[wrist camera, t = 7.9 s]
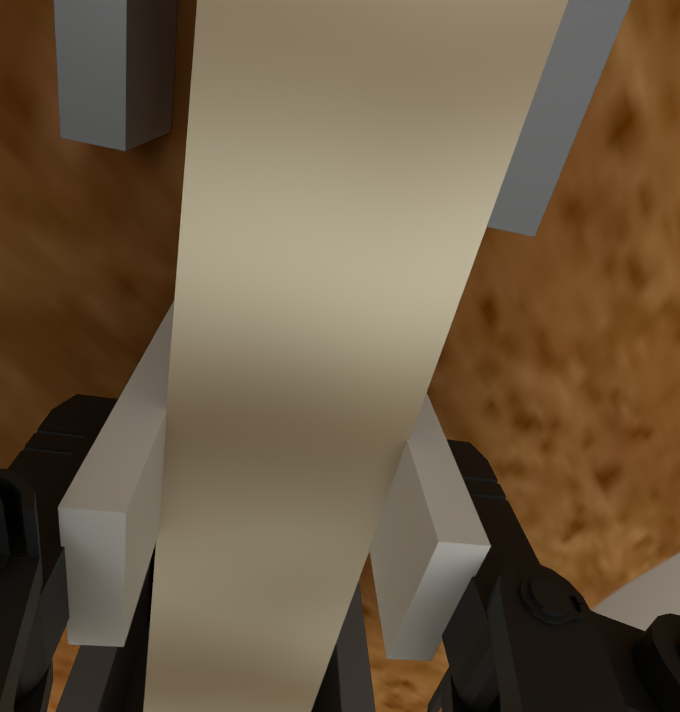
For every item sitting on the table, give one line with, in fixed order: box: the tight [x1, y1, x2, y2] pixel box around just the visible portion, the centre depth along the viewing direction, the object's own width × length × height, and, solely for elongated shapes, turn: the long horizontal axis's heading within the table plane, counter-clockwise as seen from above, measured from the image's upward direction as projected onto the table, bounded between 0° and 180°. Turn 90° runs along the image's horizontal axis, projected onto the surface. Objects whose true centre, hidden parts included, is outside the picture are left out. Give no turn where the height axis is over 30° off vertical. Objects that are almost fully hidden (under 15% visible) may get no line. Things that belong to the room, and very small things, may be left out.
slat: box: [143, 0, 568, 712], centre depth 10 cm, size 18×4×5 cm, turn 167°
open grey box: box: [56, 563, 376, 712], centre depth 16 cm, size 8×6×8 cm
